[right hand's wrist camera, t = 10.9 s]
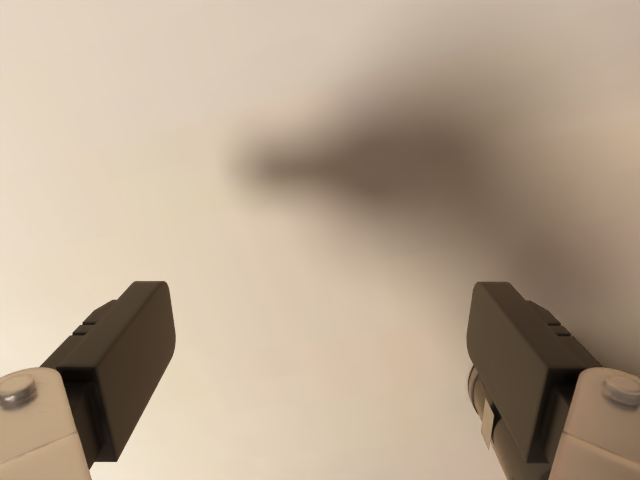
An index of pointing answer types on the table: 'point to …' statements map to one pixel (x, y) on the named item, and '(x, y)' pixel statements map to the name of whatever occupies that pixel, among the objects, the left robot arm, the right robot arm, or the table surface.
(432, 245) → the table surface
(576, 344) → the right robot arm
